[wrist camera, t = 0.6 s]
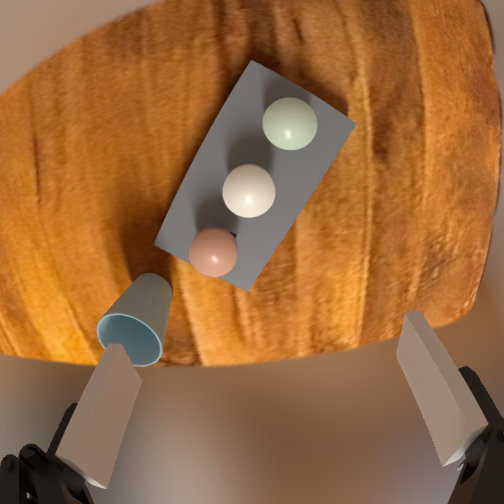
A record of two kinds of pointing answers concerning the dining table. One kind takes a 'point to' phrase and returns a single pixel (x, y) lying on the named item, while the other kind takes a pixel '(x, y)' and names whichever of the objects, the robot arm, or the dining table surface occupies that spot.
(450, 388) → the robot arm
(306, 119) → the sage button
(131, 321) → the cup
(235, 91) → the gray rectangular slab
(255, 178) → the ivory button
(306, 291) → the dining table surface
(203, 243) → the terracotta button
